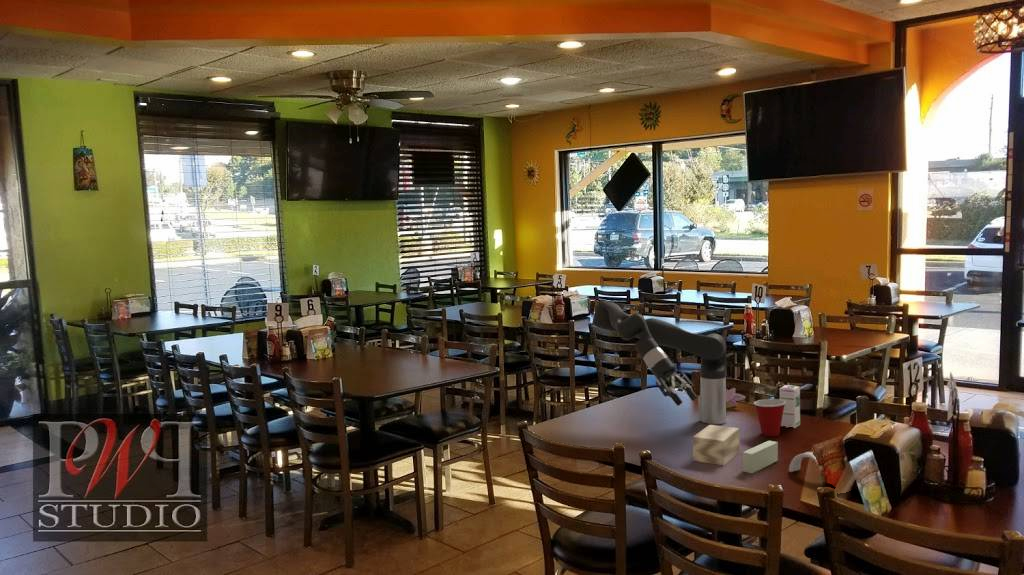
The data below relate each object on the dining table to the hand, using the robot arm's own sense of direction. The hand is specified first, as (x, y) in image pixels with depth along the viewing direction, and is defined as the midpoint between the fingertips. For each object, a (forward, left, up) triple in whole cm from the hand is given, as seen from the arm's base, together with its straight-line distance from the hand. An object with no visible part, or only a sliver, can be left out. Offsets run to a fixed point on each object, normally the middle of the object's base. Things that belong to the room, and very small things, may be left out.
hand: (687, 401), depth 255 cm
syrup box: (+11, +49, -17) cm, 53 cm away
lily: (-19, +57, -17) cm, 62 cm away
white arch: (+47, +1, -17) cm, 50 cm away
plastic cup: (+11, +34, -17) cm, 39 cm away
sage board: (+26, +1, -16) cm, 31 cm away
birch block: (+10, +1, -17) cm, 20 cm away
